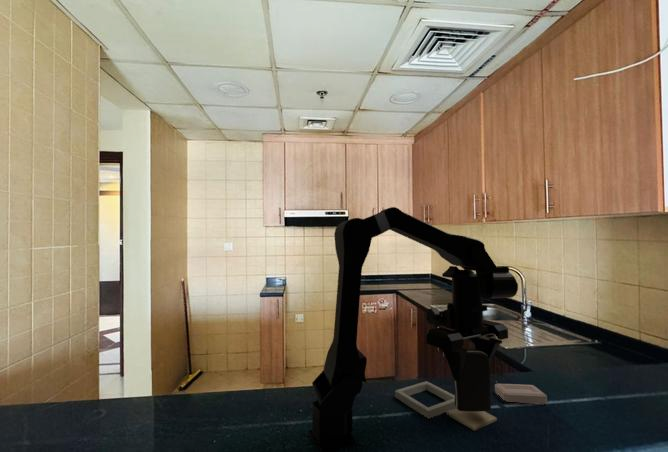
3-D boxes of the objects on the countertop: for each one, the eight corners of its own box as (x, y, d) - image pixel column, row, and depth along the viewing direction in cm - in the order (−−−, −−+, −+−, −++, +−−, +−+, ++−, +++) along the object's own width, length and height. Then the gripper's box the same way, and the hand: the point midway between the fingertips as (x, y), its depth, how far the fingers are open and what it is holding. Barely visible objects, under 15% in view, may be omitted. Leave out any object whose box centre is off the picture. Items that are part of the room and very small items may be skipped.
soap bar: (494, 392, 71) (493, 382, 71) (534, 394, 70) (533, 383, 70) (505, 404, 66) (504, 393, 66) (548, 406, 65) (547, 394, 65)
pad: (474, 430, 55) (474, 428, 56) (446, 414, 61) (446, 411, 61) (497, 420, 59) (496, 417, 59) (468, 405, 64) (468, 403, 64)
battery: (483, 402, 62) (481, 346, 63) (493, 412, 58) (490, 352, 59) (450, 402, 62) (448, 346, 63) (457, 412, 58) (455, 352, 59)
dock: (428, 418, 59) (428, 411, 60) (395, 397, 68) (395, 390, 68) (461, 406, 64) (461, 399, 64) (426, 387, 73) (426, 381, 73)
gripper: (463, 291, 73) (465, 356, 72) (406, 297, 64) (407, 371, 63) (508, 298, 64) (511, 373, 62) (448, 305, 55) (450, 393, 53)
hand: (469, 376), depth 61 cm, fingers closed on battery, 7 cm apart
